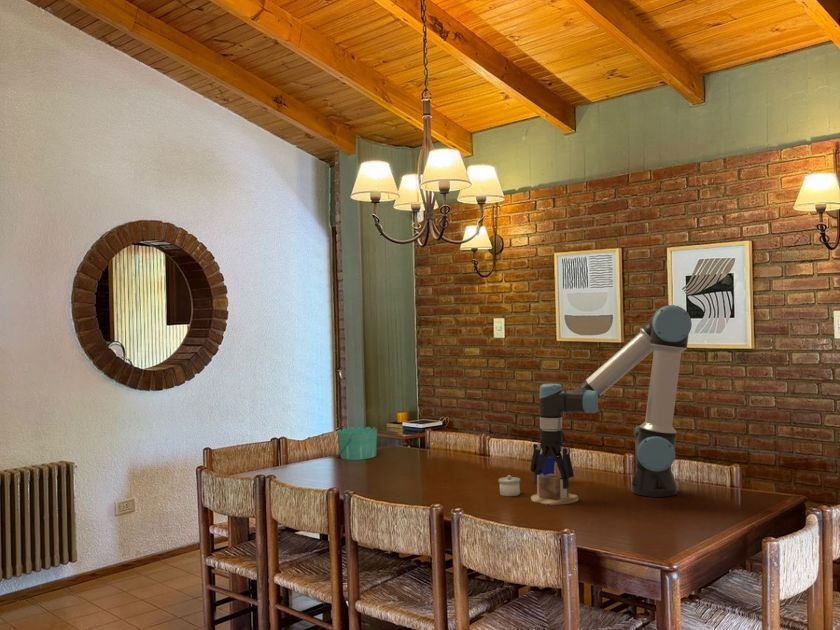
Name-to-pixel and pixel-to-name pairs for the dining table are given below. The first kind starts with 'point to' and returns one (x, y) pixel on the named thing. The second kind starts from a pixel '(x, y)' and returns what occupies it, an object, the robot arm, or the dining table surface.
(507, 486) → the sugar bowl
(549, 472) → the mug
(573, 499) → the trivet
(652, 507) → the dining table surface
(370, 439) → the basket
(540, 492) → the block
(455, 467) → the dining table surface
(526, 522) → the dining table surface
